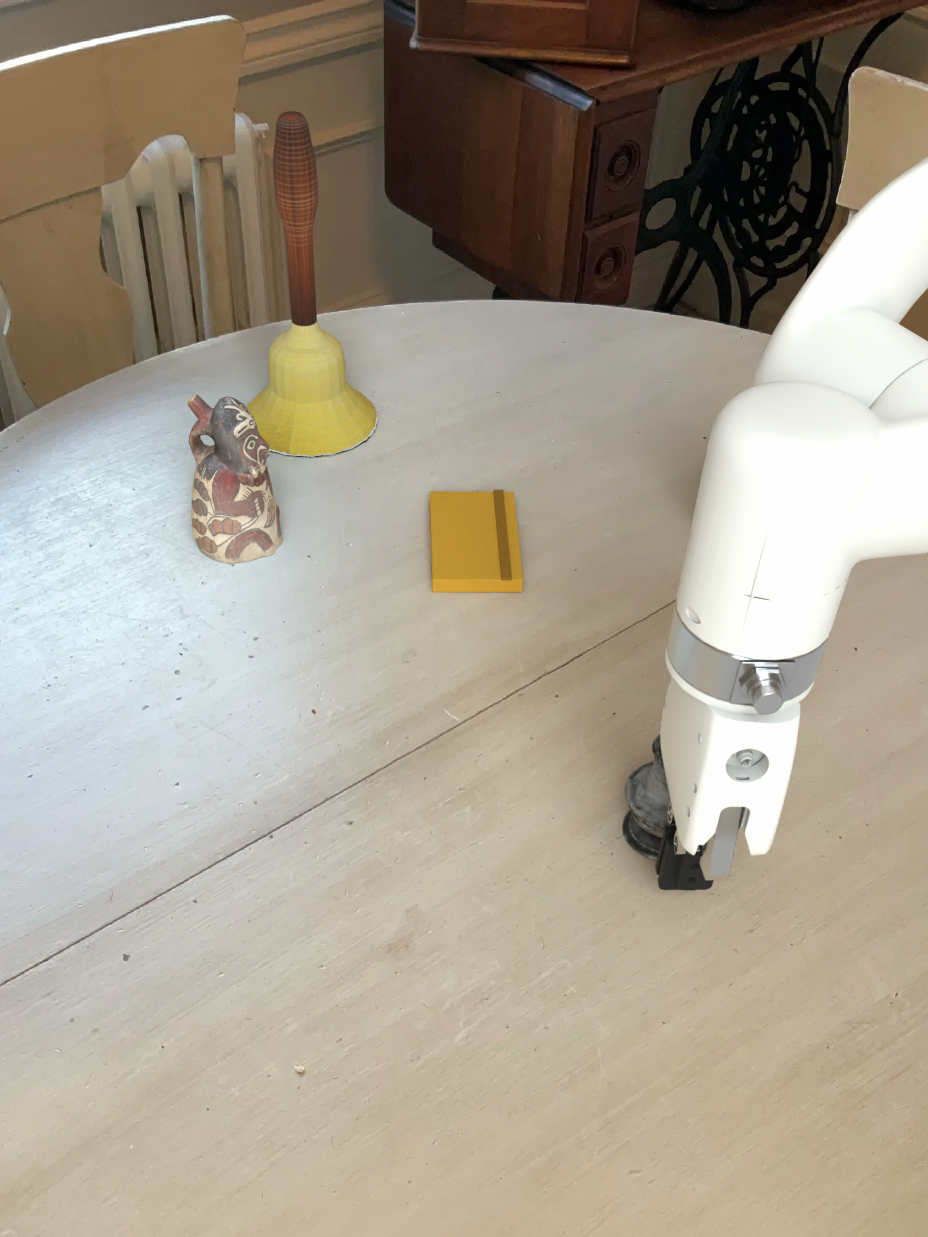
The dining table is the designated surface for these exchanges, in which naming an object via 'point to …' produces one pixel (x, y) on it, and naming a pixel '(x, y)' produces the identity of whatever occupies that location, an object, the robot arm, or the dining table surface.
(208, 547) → the figurine
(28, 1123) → the dining table surface
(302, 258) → the handbell
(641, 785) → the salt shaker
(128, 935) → the dining table surface
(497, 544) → the yellow strapped notebook
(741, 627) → the robot arm
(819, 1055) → the dining table surface
